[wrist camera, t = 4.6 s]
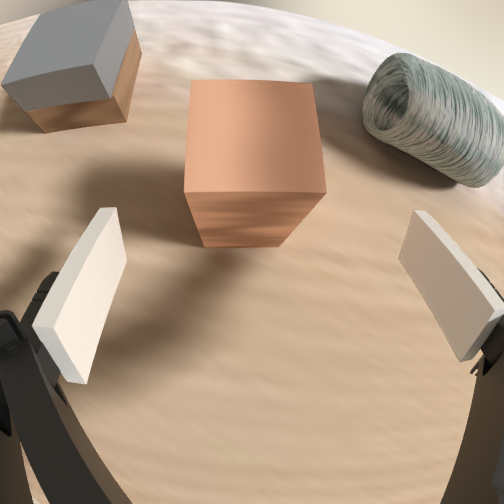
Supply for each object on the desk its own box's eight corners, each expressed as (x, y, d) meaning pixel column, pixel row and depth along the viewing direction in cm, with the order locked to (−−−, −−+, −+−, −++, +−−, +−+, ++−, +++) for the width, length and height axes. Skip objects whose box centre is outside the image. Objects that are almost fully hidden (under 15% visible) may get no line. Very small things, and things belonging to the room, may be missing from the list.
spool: (339, 136, 20) (437, 35, 13) (342, 89, 26) (409, 16, 18) (456, 237, 23) (543, 175, 16) (439, 172, 29) (503, 119, 21)
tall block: (204, 248, 22) (183, 192, 11) (205, 178, 22) (191, 80, 12) (278, 247, 22) (326, 192, 11) (275, 178, 23) (312, 83, 12)
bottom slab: (46, 135, 22) (26, 112, 18) (68, 68, 24) (54, 43, 20) (127, 124, 23) (114, 96, 19) (142, 55, 24) (134, 26, 20)
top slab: (24, 111, 18) (0, 85, 14) (55, 42, 20) (40, 14, 16) (110, 98, 19) (93, 63, 15) (134, 28, 20) (125, -6, 16)
